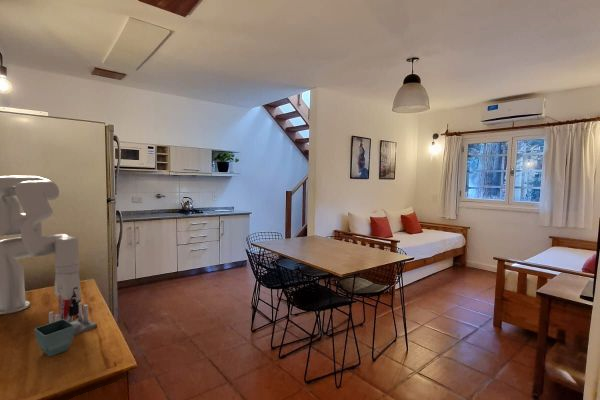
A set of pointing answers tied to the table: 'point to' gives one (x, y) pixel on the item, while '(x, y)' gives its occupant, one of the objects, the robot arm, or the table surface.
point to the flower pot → (54, 337)
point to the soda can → (65, 310)
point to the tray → (77, 320)
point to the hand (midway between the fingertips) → (69, 312)
